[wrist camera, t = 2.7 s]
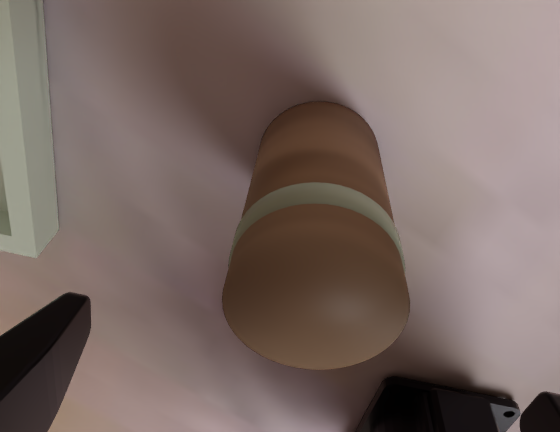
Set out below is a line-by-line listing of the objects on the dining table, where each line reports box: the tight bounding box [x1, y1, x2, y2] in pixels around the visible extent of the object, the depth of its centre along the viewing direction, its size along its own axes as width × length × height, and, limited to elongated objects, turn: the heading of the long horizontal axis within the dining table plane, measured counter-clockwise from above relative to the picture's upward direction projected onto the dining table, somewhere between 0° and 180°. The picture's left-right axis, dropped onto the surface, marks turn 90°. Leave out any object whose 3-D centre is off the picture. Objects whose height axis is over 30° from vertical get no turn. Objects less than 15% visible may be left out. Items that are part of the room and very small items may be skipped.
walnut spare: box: [222, 101, 410, 370], centre depth 13 cm, size 4×4×7 cm
